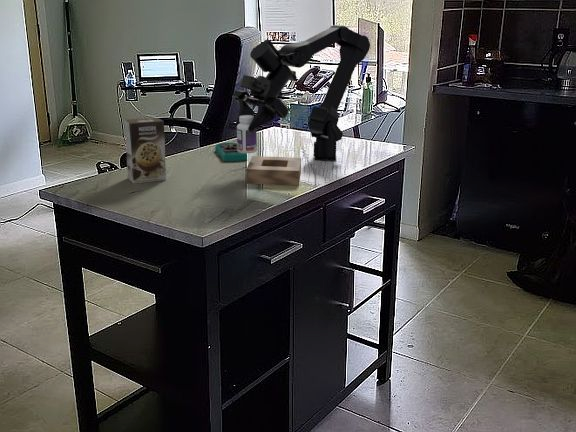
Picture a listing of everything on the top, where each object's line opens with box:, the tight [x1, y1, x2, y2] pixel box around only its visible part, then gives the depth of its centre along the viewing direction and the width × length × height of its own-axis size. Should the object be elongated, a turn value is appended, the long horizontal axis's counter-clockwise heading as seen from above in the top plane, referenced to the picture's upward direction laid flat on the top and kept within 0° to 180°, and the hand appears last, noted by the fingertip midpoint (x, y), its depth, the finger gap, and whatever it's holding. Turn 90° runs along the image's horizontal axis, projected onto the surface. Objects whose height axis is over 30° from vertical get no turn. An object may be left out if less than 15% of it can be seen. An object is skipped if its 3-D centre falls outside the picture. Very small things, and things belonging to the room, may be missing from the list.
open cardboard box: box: [245, 155, 302, 186], centre depth 175 cm, size 14×14×4 cm
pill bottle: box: [236, 115, 258, 154], centre depth 175 cm, size 5×5×10 cm
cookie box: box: [124, 117, 167, 184], centre depth 169 cm, size 9×6×16 cm
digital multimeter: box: [214, 142, 248, 162], centre depth 198 cm, size 7×15×3 cm, turn 17°
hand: (242, 128), depth 173 cm, fingers closed on pill bottle, 5 cm apart
